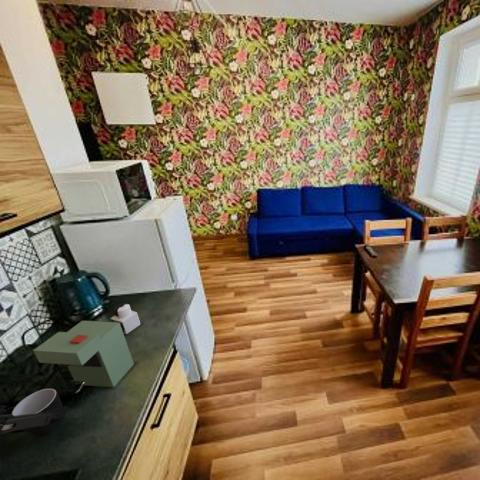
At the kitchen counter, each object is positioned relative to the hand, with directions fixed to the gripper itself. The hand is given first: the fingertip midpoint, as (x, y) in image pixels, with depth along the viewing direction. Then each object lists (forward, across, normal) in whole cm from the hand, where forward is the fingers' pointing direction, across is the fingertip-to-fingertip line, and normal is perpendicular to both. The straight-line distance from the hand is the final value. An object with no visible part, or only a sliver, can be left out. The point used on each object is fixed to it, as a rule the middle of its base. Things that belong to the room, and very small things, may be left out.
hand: (48, 410), depth 78 cm
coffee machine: (+16, 0, +6) cm, 17 cm away
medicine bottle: (+35, -10, +25) cm, 44 cm away
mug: (+1, 0, -5) cm, 5 cm away
